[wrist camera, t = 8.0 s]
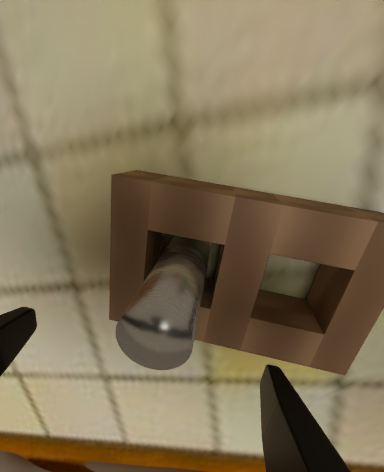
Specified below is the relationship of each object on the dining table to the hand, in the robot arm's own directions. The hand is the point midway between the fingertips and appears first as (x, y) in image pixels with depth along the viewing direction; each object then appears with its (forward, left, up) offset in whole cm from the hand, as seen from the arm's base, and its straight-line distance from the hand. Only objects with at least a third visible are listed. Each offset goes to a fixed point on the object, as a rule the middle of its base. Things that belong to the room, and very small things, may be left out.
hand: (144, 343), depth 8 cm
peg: (0, 0, -9) cm, 9 cm away
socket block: (-4, 0, -9) cm, 10 cm away
